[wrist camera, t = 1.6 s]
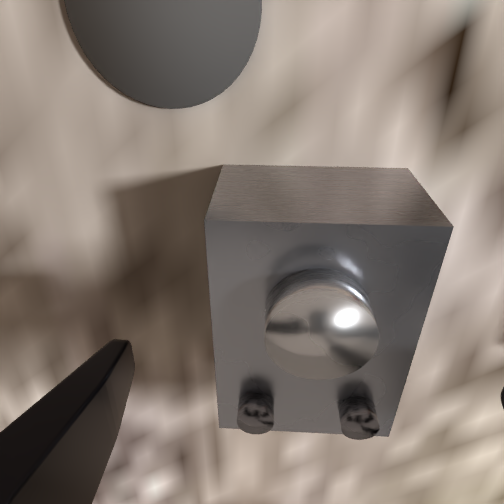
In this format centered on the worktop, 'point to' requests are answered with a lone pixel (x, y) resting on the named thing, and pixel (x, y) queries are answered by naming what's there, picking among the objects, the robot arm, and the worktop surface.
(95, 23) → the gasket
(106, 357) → the robot arm
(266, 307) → the housing
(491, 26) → the worktop surface
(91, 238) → the worktop surface
